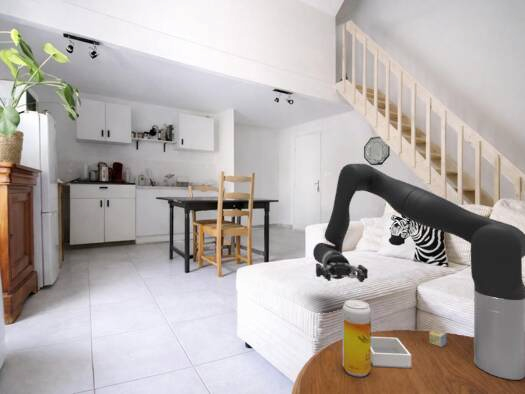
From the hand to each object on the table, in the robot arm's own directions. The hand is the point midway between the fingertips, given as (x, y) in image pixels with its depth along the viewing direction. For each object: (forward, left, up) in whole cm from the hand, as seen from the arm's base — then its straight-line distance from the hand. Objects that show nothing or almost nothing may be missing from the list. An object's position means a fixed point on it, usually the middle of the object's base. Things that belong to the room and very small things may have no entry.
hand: (345, 277), depth 79 cm
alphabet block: (-25, -3, -18) cm, 31 cm away
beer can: (0, +12, -18) cm, 21 cm away
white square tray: (-9, +6, -18) cm, 21 cm away
